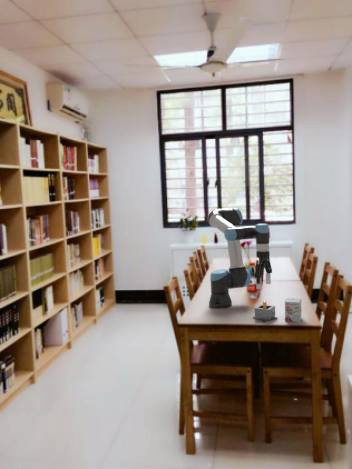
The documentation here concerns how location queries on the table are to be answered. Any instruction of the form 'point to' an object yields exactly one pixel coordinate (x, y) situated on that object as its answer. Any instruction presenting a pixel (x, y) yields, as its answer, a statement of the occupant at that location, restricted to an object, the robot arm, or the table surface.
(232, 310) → the table surface
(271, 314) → the link
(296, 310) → the ink box
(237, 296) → the table surface
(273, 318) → the post
